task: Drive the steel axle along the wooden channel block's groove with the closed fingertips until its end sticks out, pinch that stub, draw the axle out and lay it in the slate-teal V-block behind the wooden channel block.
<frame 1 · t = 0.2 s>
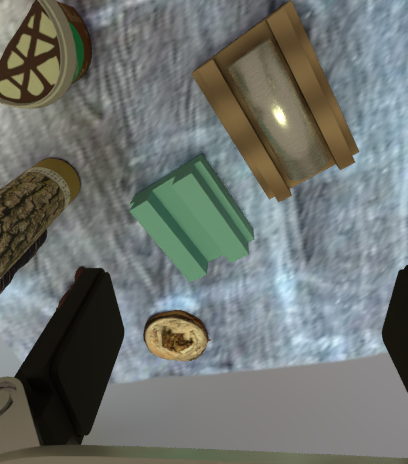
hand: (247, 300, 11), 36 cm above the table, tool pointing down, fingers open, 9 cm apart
v block: (194, 212, 51), on the table
axle: (276, 110, 39), point 4 cm above the table, touching wooden channel block
food container: (73, 60, 42), on the table
wooden channel block: (275, 107, 42), on the table
tan round flat disc: (177, 331, 66), on the table
storage jar: (17, 224, 55), on the table
bark patterned canister: (59, 178, 50), on the table
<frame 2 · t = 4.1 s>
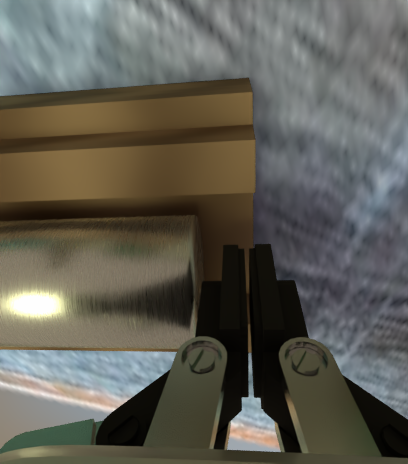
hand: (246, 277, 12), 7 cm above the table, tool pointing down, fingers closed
axle: (52, 244, 16), point 4 cm above the table, touching wooden channel block, gripper
wooden channel block: (89, 205, 19), on the table
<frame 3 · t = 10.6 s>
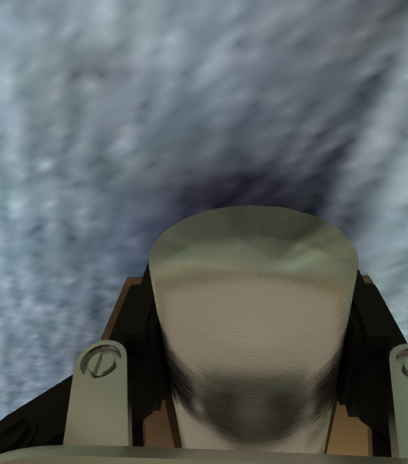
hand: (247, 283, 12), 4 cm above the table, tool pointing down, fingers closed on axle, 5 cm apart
axle: (242, 359, 14), point 4 cm above the table, touching wooden channel block, gripper
wooden channel block: (245, 389, 21), on the table
when the fingers open (7 cm above the table, at t = 18.7 s): axle drops 2 cm, resting on v block.
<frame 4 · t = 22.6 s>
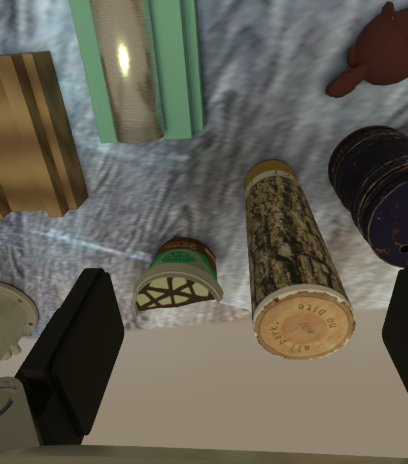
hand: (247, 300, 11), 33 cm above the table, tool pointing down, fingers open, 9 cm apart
v block: (147, 63, 38), on the table
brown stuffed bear: (383, 42, 36), on the table
axle: (131, 58, 33), point 5 cm above the table, tilted 8°, touching v block
food container: (180, 247, 51), on the table
wooden channel block: (26, 133, 43), on the table
storage jar: (367, 164, 42), on the table
bark patterned canister: (269, 182, 45), on the table
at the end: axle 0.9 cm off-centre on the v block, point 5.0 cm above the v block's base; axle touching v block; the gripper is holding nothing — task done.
